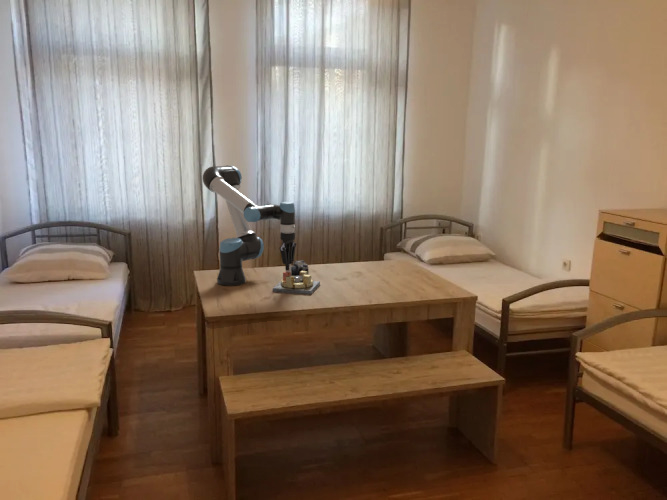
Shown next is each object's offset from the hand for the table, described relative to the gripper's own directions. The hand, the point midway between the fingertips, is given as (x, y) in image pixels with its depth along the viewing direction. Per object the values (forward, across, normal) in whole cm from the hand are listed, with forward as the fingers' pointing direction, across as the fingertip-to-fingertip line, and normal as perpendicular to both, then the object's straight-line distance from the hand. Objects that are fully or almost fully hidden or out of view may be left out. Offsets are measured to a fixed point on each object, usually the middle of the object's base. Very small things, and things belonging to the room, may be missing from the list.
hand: (288, 275), depth 304 cm
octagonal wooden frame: (+3, -2, -6) cm, 7 cm away
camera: (+7, +16, +6) cm, 19 cm away
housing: (+6, -2, -6) cm, 9 cm away
